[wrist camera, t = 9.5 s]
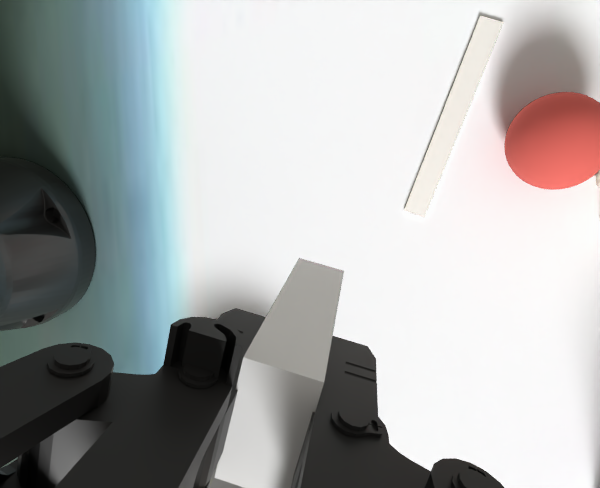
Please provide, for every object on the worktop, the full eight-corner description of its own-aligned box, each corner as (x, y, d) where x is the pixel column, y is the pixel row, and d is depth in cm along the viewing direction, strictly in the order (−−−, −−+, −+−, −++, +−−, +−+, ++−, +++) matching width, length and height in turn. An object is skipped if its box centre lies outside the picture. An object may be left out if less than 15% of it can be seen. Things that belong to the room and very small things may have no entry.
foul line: (404, 209, 33) (404, 210, 33) (479, 16, 29) (480, 15, 29) (424, 216, 33) (424, 217, 33) (502, 23, 29) (503, 22, 29)
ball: (596, 205, 29) (504, 182, 32) (633, 114, 28) (534, 102, 31) (585, 193, 24) (479, 169, 28) (630, 83, 23) (514, 73, 27)
